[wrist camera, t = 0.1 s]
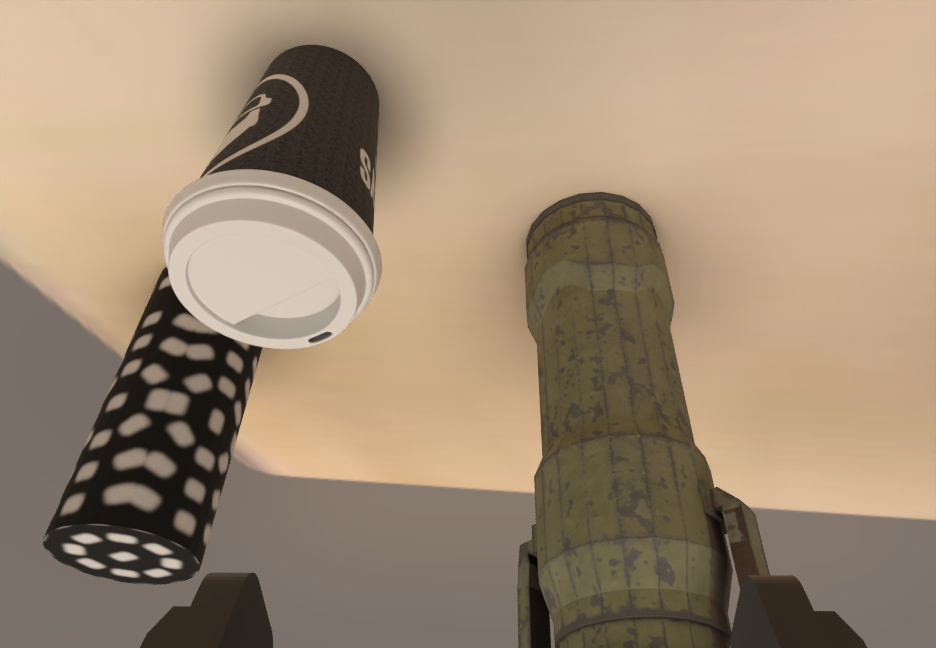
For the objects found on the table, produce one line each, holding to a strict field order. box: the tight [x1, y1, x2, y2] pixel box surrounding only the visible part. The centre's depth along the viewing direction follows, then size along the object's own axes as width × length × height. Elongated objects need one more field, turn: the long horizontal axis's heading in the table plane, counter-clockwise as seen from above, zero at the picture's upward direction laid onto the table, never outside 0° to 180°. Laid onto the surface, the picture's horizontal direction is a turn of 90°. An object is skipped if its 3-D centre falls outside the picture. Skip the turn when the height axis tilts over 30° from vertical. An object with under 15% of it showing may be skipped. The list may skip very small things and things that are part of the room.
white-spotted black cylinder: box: [43, 267, 262, 585], centre depth 46 cm, size 8×8×20 cm
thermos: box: [517, 192, 770, 648], centre depth 36 cm, size 9×12×35 cm
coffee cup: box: [162, 45, 382, 349], centre depth 35 cm, size 10×10×15 cm
